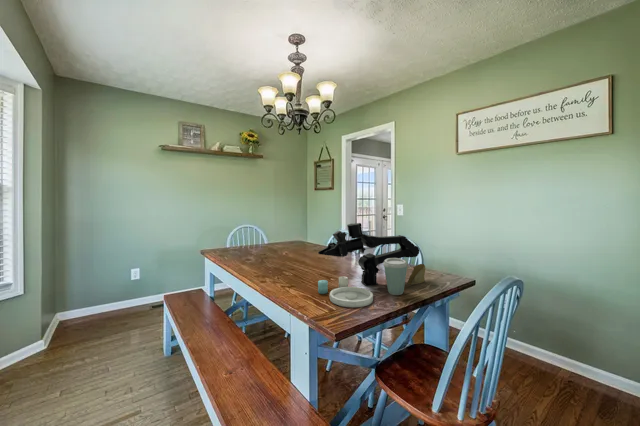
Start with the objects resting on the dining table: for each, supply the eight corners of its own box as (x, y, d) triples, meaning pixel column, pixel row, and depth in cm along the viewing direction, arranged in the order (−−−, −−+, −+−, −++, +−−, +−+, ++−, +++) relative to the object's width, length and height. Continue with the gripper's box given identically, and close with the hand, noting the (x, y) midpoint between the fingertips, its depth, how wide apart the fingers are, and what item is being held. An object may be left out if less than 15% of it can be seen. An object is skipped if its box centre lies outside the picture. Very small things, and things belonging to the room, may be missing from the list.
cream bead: (346, 286, 139) (346, 276, 139) (349, 289, 135) (349, 278, 134) (337, 287, 138) (337, 276, 137) (340, 289, 133) (340, 279, 133)
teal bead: (326, 290, 133) (326, 279, 133) (328, 293, 129) (328, 282, 129) (317, 291, 132) (317, 280, 132) (319, 294, 128) (319, 283, 127)
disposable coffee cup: (411, 296, 125) (412, 262, 124) (388, 297, 123) (388, 263, 122) (401, 288, 135) (401, 257, 134) (379, 289, 133) (379, 258, 133)
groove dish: (362, 290, 132) (362, 285, 132) (380, 304, 115) (380, 298, 115) (324, 294, 127) (324, 289, 127) (337, 309, 110) (337, 303, 110)
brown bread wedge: (410, 282, 137) (430, 279, 138) (404, 265, 142) (424, 262, 142) (405, 289, 146) (424, 286, 147) (400, 274, 151) (418, 271, 152)
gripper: (341, 230, 148) (312, 237, 144) (354, 228, 130) (322, 236, 126) (345, 251, 148) (317, 258, 143) (360, 252, 130) (328, 260, 126)
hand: (320, 253), depth 135 cm, fingers open, 9 cm apart
